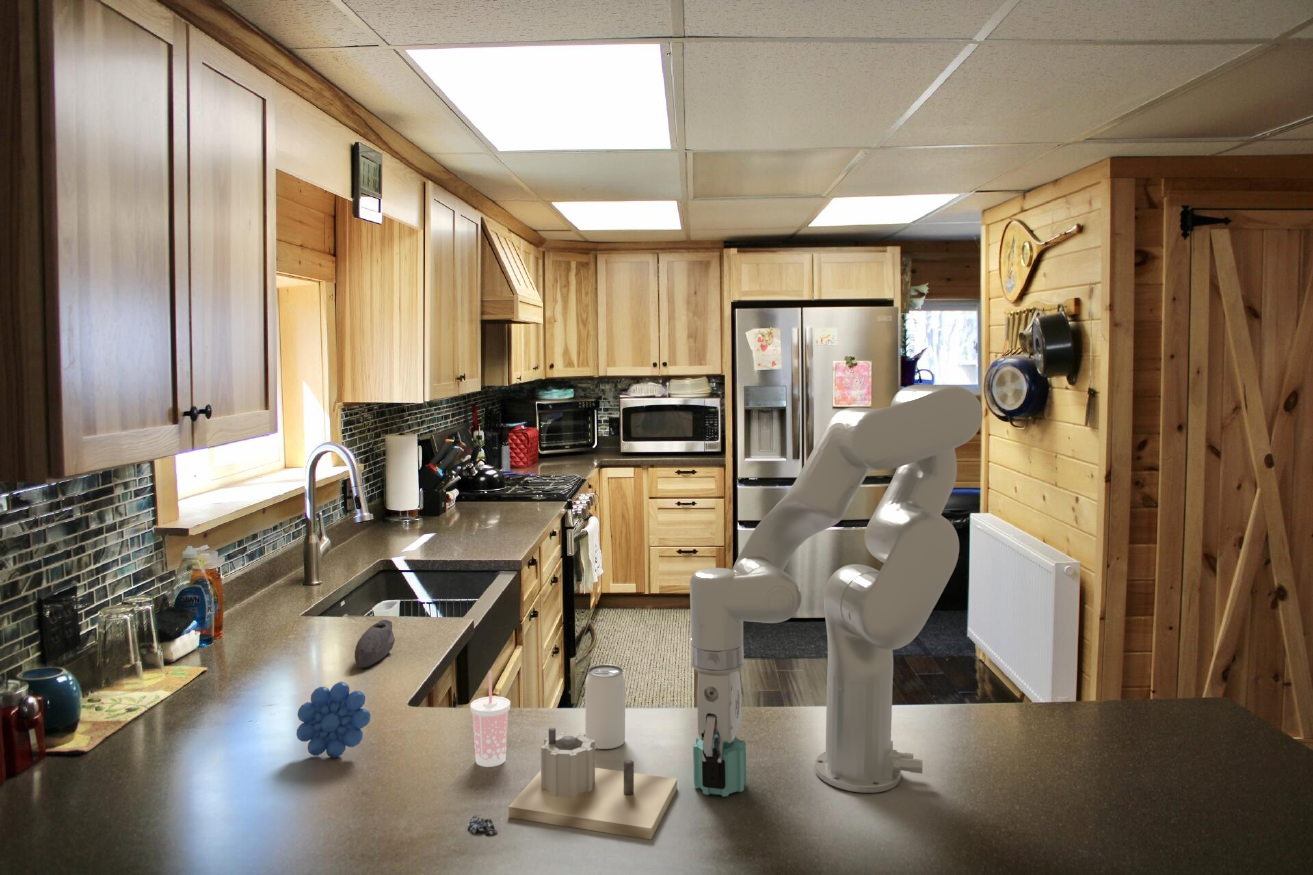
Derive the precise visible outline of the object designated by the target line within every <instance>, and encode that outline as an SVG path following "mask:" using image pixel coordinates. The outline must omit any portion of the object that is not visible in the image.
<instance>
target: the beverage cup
mask: <svg viewBox="0 0 1313 875" xmlns="http://www.w3.org/2000/svg"><path fill="white" fill-rule="evenodd" d="M492 678H493V671H492V670H491V671H490V670H489V671H488V696H483V697H480V698H479V697H478V698H477V699H475V700H473V701H472V702H470V706H469V707H470V712H471V714H472V727H473V728H472V729H473V739H474V742H473V743H474V753H475V754H474V756H475V763H476V764H477V765H478V766H480V767H486V768H489V767H490V768H491V767H496V766H497V767H498V766H500V765H502V764H504V763H505V762H506V758H507V741H508V740H507V739H508V725H509V724H508V723H509V711H510V710H511V700H509V699H508V698H507V697H503V696H497V695H495V696H493V684H492V682H493V679H492Z"/></svg>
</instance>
